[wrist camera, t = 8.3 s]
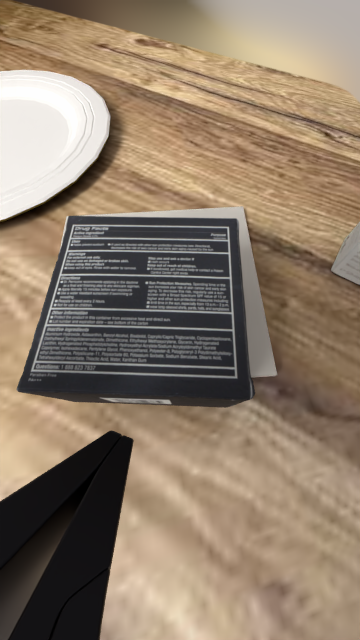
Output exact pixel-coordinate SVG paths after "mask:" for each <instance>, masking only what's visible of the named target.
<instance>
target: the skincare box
mask: <svg viewBox="0 0 360 640" xmlns="http://www.w3.org/2000/svg"><path fill="white" fill-rule="evenodd" d="M331 271H332V272H334V273H335V274H337V275H340V276H342V277H344V278H346V279H348V280H350V281H352V282H354V283H356V284H358V285H360V222H359V223H358V224H357V225H356V227H355V228H354V229H353V230H352V231H351V232H350V233H349V235H348V236H347V237H346V238H345V239H344V241H343V244H342V246H341V248H340V250H339V253H338V255H337V257H336V259H335V262H334V264H333V266H332V269H331Z"/></svg>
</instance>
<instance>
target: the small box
mask: <svg viewBox="0 0 360 640" xmlns="http://www.w3.org/2000/svg"><path fill="white" fill-rule="evenodd" d="M17 391H18V392H22V393H29V394H35V395H41V396H46V397H52V398H57V399H63V400H68V401H73V402H97V403H124V404H151V405H176V406H203V407H230V406H233V405H236V404H238V403H241V402H243V401H246V400H250V399H252V398H253V396H254V395H255V390H254V385H253V381H252V378H251V374H250V363H249V353H248V340H247V325H246V311H245V300H244V290H243V278H242V265H241V255H240V243H239V221H238V219H236V218H183V217H116V216H69V217H68V220H67V224H66V231H65V234H64V237H63V243H62V246H61V249H60V253H59V255H58V261H57V262H56V266H55V269H54V271H53V275H52V278H51V282H50V285H49V289H48V292H47V295H46V299H45V302H44V305H43V308H42V312H41V317H40V320H39V322H38V325H37V328H36V331H35V334H34V339H33V342H32V347H31V349H30V351H29V355H28V358H27V361H26V365H25V367H24V372H23V375H22V377H21V379H20V381H19V384H18V387H17Z"/></svg>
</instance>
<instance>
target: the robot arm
mask: <svg viewBox="0 0 360 640" xmlns="http://www.w3.org/2000/svg"><path fill="white" fill-rule="evenodd" d="M132 447H133V439H132V438H129V437H127V436H122V435H121V434H120V433H117V432H115V431H109V432H107V433H106V434H104V435H103V436H101V437H100V438H98V439H97V440H95V441H93V442H92V443H90V444H89V445H87V446H86V447H84V448H83V449H81V450H79V451H78V452H76V453H75V454H73V455H72V456H70V457H69V458H67V459H65V460H64V461H62V462H61V463H59V464H58V465H56V466H55V467H53V468H51V469H50V470H48V471H47V472H45V473H44V474H42V475H41V476H39V477H37V478H36V479H34V480H33V481H31V482H30V483H28V484H27V485H25V486H23V487H22V488H20V489H19V490H17V491H16V492H14V493H13V494H11V495H9V496H8V497H6V498H5V499H3V500H2V501H0V640H100V633H101V625H102V618H103V612H104V605H105V599H106V592H107V587H108V581H109V576H110V569H111V564H112V558H113V552H114V547H115V541H116V536H117V530H118V525H119V519H120V513H121V508H122V502H123V497H124V491H125V486H126V480H127V474H128V469H129V463H130V458H131V452H132Z"/></svg>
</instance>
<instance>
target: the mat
mask: <svg viewBox="0 0 360 640" xmlns="http://www.w3.org/2000/svg"><path fill="white" fill-rule="evenodd" d="M83 216H116V217H183V218H236V219H238V221H239V243H240V255H241V265H242V278H243V290H244V300H245V311H246V325H247V340H248V353H249V363H250V374H251V377H269V376H276V375H277V372H276V367H275V362H274V357H273V352H272V347H271V342H270V337H269V332H268V327H267V322H266V317H265V312H264V307H263V302H262V298H261V293H260V288H259V283H258V278H257V273H256V268H255V263H254V258H253V253H252V248H251V243H250V238H249V233H248V228H247V223H246V219H245V214H244V209H243V206H242V207H225V208H207V209H189V210H172V211H154V212H136V213H118V214H101V215H83ZM68 217H69V216H67V217H66V222H65V227H64V232H63V237H64V234H65V231H66V224H67V220H68ZM63 237H62V242H61V246H62V243H63ZM60 249H61V247H60ZM59 253H60V252H59Z"/></svg>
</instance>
